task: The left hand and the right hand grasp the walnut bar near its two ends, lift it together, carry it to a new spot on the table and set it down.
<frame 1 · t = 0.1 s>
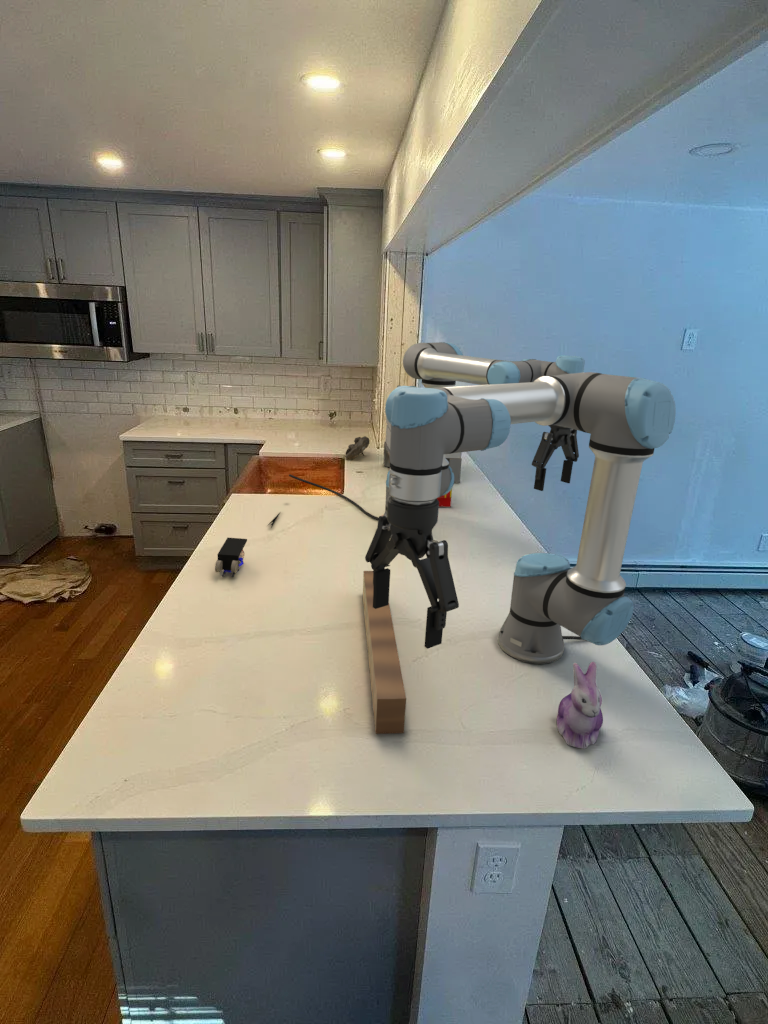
left hand: (552, 485, 166), 28 cm above the counter, tool pointing down, fingers open, 13 cm apart
right hand: (405, 624, 90), 28 cm above the counter, tool pointing down, fingers open, 13 cm apart
toy: (435, 496, 242), on the counter
bar: (379, 652, 131), on the counter
feather: (278, 516, 211), on the counter
fossil: (357, 456, 301), on the counter
black boxy wheeled piece: (232, 569, 168), on the counter
grey slatted crate: (419, 473, 275), on the counter
figurine: (578, 733, 108), on the counter
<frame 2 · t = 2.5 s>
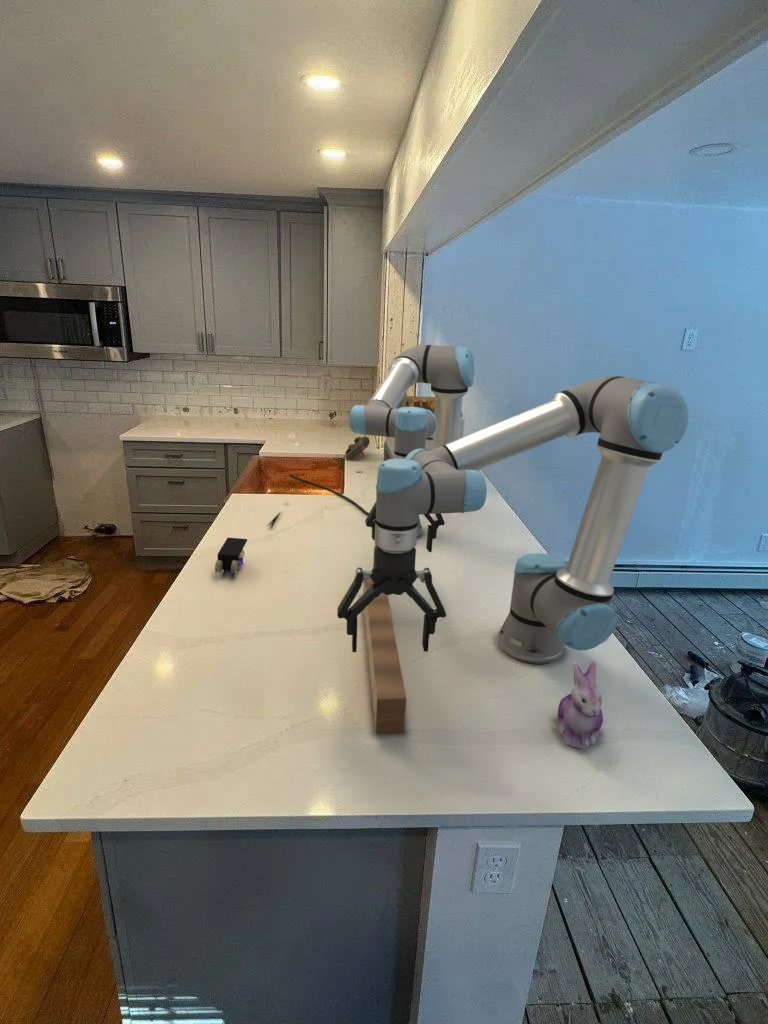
left hand: (403, 550, 146), 16 cm above the counter, tool pointing down, fingers open, 13 cm apart
right hand: (389, 648, 108), 14 cm above the counter, tool pointing down, fingers open, 13 cm apart
nothing on the counter moved.
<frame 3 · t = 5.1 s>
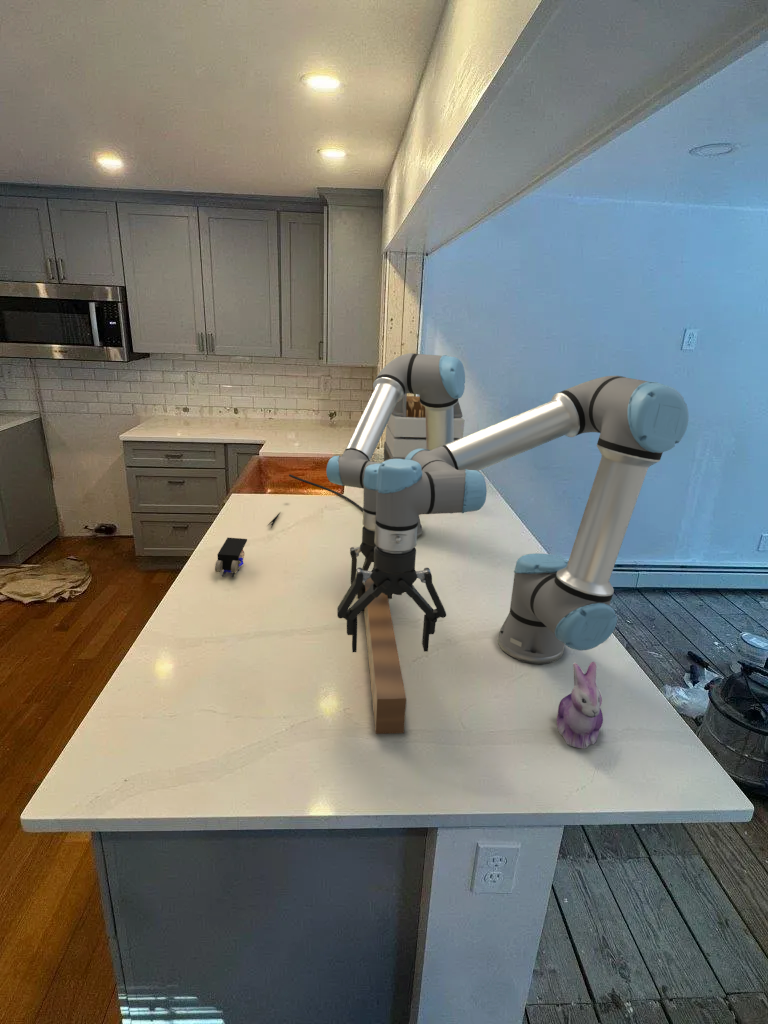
left hand: (374, 608, 149), 0 cm above the counter, tool pointing down, fingers closed on bar, 5 cm apart
right hand: (389, 648, 108), 14 cm above the counter, tool pointing down, fingers open, 13 cm apart
bar: (379, 652, 131), on the counter, touching left hand
everything else where it was.
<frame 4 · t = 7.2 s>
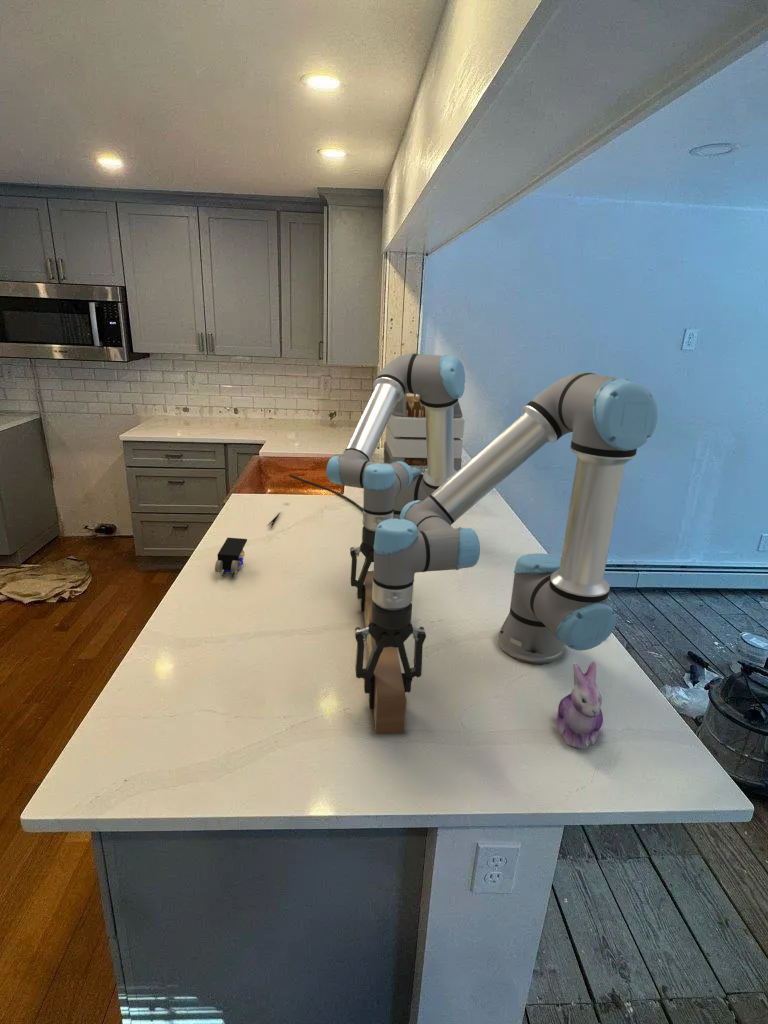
left hand: (374, 608, 149), 0 cm above the counter, tool pointing down, fingers closed on bar, 5 cm apart
right hand: (386, 704, 113), 1 cm above the counter, tool pointing down, fingers closed on bar, 5 cm apart
bar: (379, 652, 131), on the counter, touching left hand, right hand
everything else where it was.
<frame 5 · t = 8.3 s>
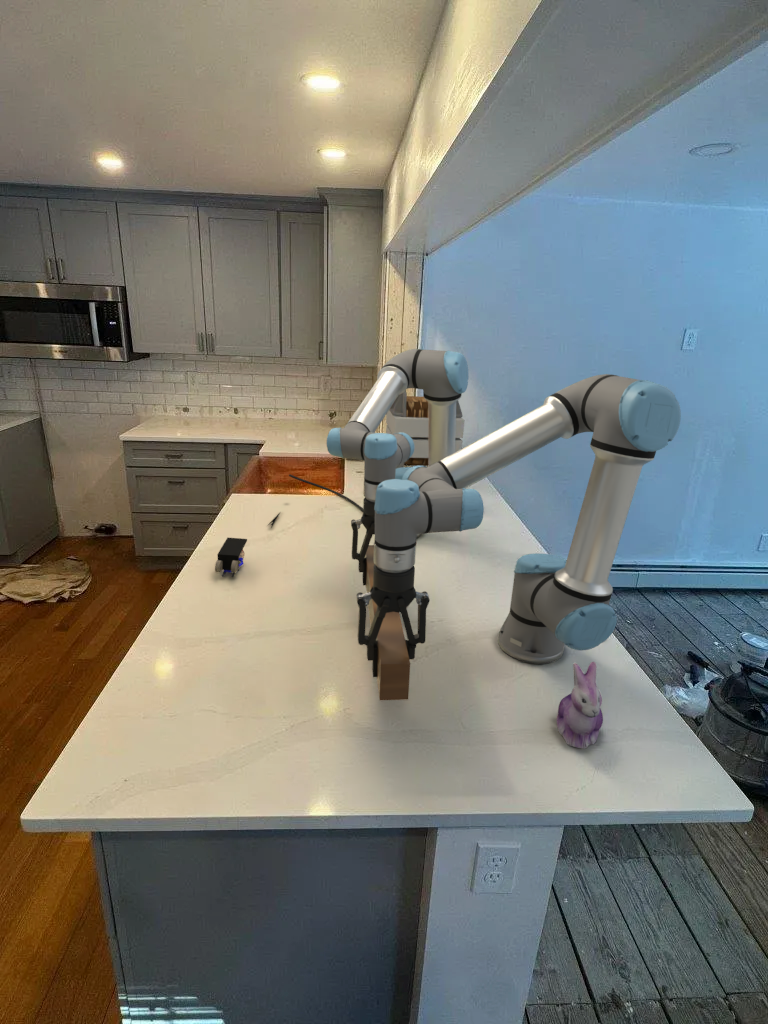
left hand: (375, 582, 146), 8 cm above the counter, tool pointing down, fingers closed on bar, 5 cm apart
right hand: (390, 672, 111), 8 cm above the counter, tool pointing down, fingers closed on bar, 5 cm apart
bar: (382, 623, 128), point 7 cm above the counter, touching left hand, right hand
everything else where it was.
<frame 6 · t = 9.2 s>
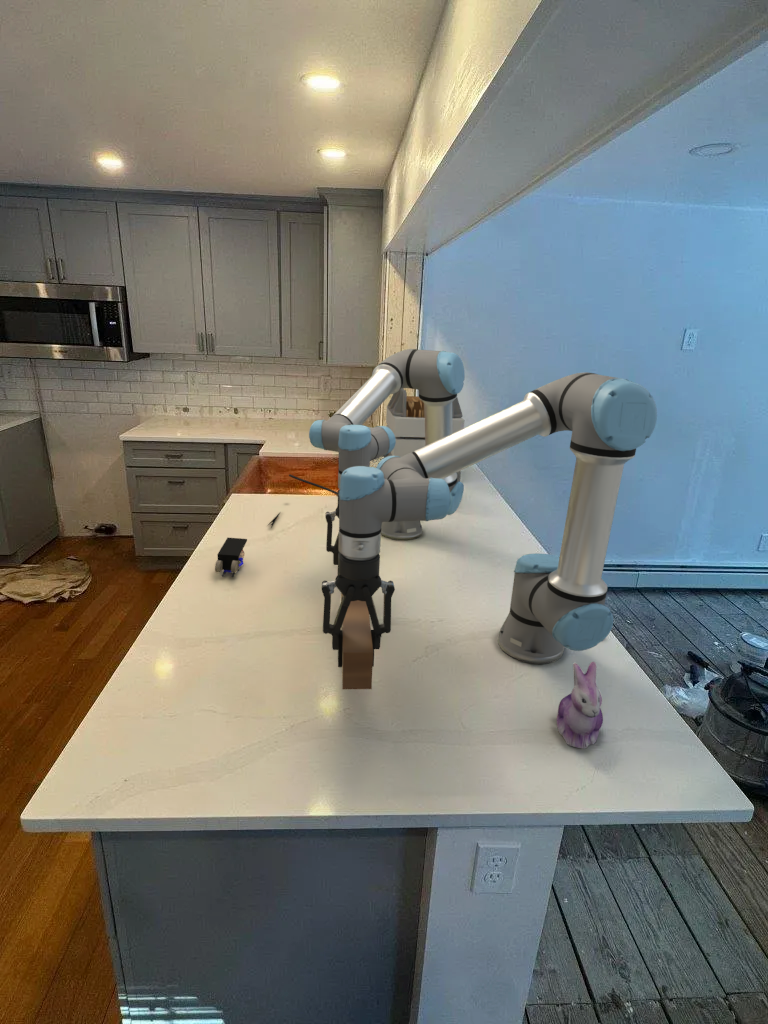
left hand: (350, 575, 146), 10 cm above the counter, tool pointing down, fingers closed on bar, 5 cm apart
right hand: (355, 662, 110), 10 cm above the counter, tool pointing down, fingers closed on bar, 5 cm apart
bar: (353, 615, 128), point 9 cm above the counter, touching left hand, right hand
everything else where it was.
when the left hand's fingers open (2 cm above the counter, at t = 11.6 s): bar drops 2 cm, on the counter.
when the right hand's fingers open (2 cm above the counter, at t = 11.6 s): bar drops 2 cm, on the counter.
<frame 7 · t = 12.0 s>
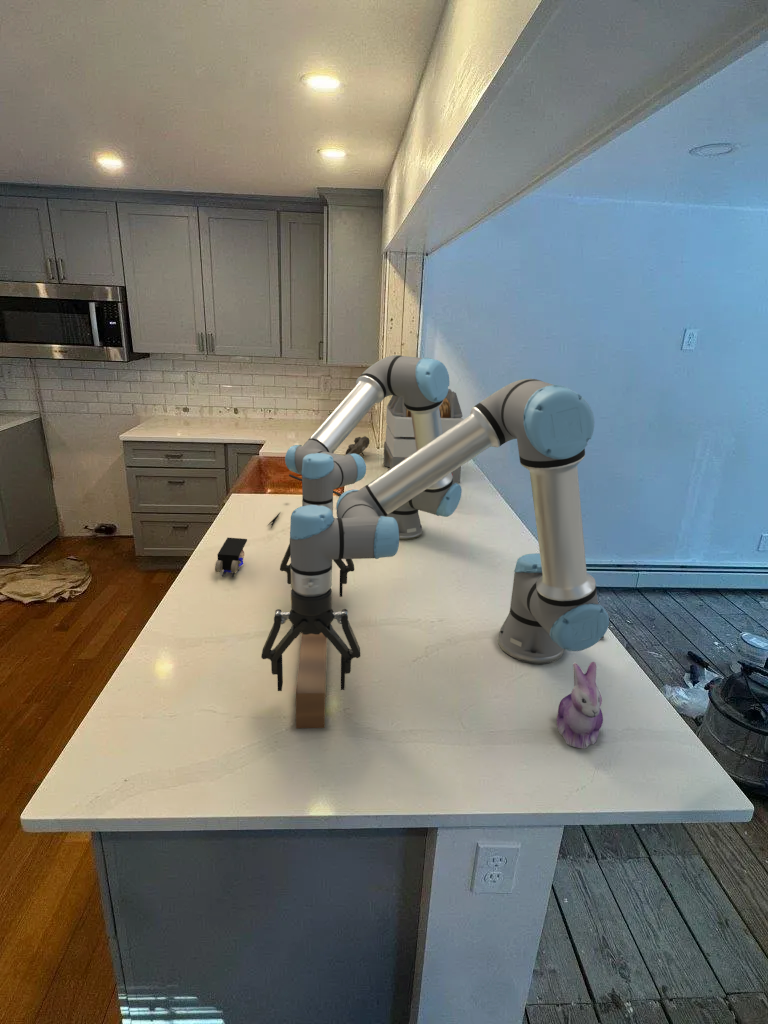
left hand: (317, 594, 148), 4 cm above the counter, tool pointing down, fingers open, 11 cm apart
right hand: (311, 686, 112), 4 cm above the counter, tool pointing down, fingers open, 11 cm apart
bar: (315, 647, 131), on the counter
everything else where it was.
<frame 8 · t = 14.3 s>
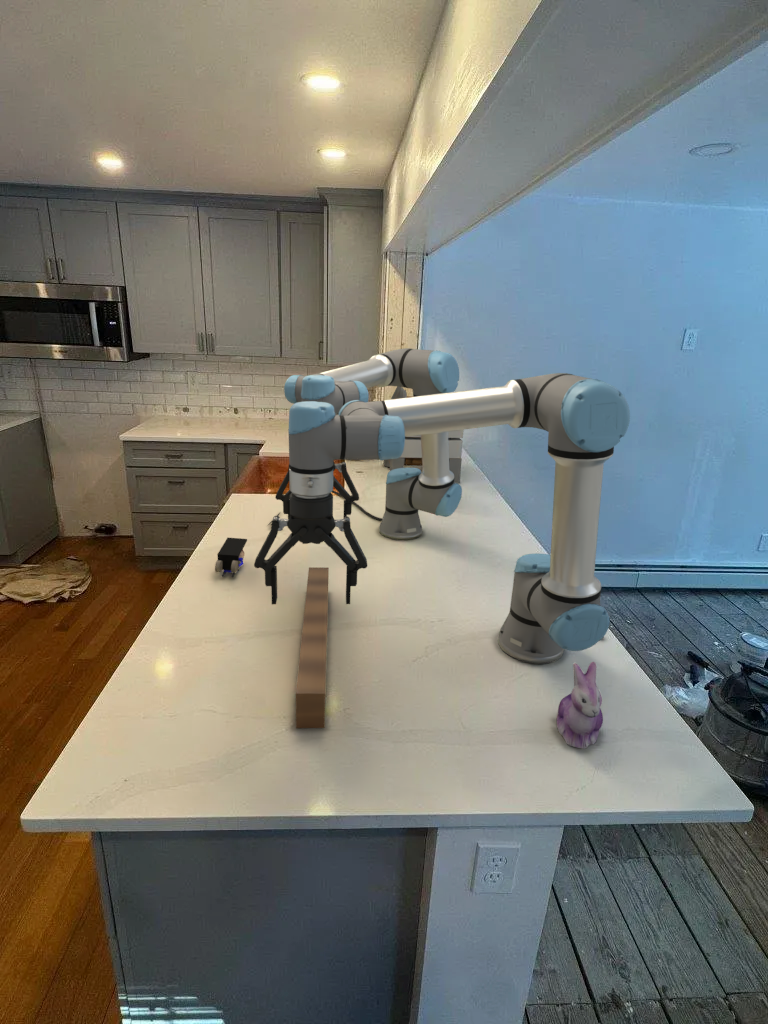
left hand: (317, 526, 141), 23 cm above the counter, tool pointing down, fingers open, 13 cm apart
right hand: (311, 600, 106), 23 cm above the counter, tool pointing down, fingers open, 13 cm apart
nothing on the counter moved.
at the end: bar inside the target area (0.1 cm from its centre), on the counter; bar tilted 0°; bar never tilted more than 1° during the clip; both hands held the bar at the same time; the left hand is holding nothing; the right hand is holding nothing; bar at rest at the end (0.0 cm/s) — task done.
